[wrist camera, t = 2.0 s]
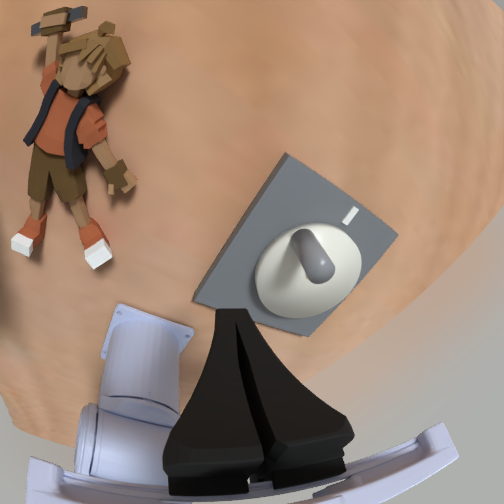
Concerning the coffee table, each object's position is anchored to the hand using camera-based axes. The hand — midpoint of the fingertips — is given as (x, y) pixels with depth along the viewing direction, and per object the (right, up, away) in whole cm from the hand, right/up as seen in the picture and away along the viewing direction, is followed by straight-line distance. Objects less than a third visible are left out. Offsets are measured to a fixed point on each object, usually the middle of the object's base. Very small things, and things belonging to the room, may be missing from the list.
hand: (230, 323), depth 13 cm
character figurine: (-12, +11, +3) cm, 16 cm away
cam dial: (+6, +2, +11) cm, 13 cm away
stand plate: (+5, +2, +12) cm, 13 cm away
